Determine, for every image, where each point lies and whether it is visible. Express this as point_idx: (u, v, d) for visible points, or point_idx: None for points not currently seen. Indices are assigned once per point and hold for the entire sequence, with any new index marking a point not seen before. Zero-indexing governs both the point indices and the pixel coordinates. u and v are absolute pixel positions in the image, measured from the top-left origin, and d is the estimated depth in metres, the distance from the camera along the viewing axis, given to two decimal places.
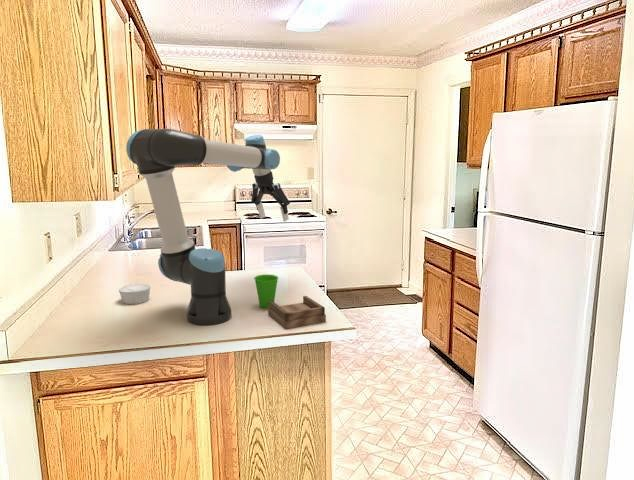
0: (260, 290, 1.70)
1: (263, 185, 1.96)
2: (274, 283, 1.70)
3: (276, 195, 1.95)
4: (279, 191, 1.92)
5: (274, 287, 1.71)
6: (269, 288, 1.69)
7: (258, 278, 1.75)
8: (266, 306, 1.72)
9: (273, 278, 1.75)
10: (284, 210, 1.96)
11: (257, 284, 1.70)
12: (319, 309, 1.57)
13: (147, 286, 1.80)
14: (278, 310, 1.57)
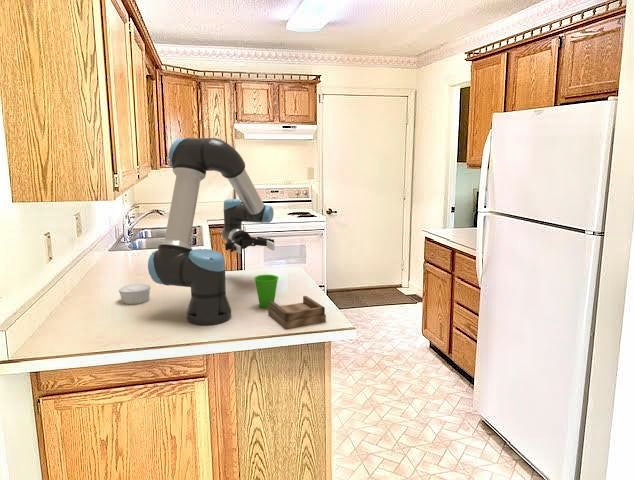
0: (260, 290, 1.70)
1: (243, 238, 1.93)
2: (274, 283, 1.70)
3: None
4: None
5: (274, 287, 1.71)
6: (269, 288, 1.69)
7: (258, 278, 1.75)
8: (266, 306, 1.72)
9: (273, 278, 1.75)
10: None
11: (257, 284, 1.70)
12: (319, 309, 1.57)
13: (147, 286, 1.80)
14: (278, 310, 1.57)
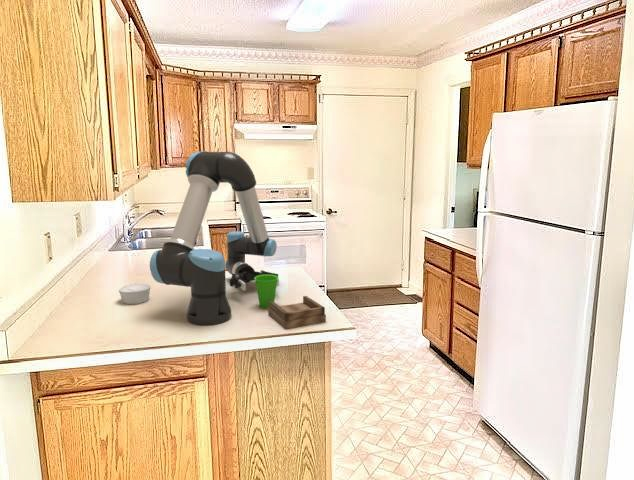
0: (260, 290, 1.70)
1: (247, 272, 1.93)
2: (274, 283, 1.70)
3: None
4: None
5: (274, 287, 1.71)
6: (269, 288, 1.69)
7: (258, 278, 1.75)
8: (266, 306, 1.72)
9: (273, 278, 1.75)
10: None
11: (257, 284, 1.70)
12: (319, 309, 1.57)
13: (147, 286, 1.80)
14: (278, 310, 1.57)
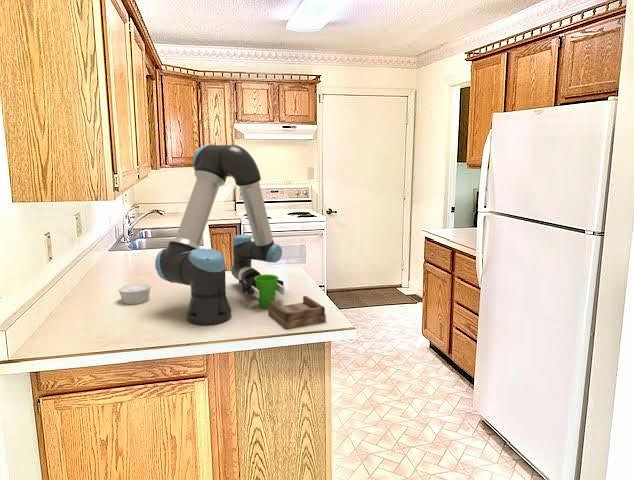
0: (260, 290, 1.70)
1: None
2: (274, 283, 1.70)
3: None
4: None
5: (274, 287, 1.71)
6: (269, 288, 1.69)
7: (258, 278, 1.75)
8: (266, 306, 1.72)
9: (273, 278, 1.75)
10: (280, 285, 1.76)
11: (257, 284, 1.70)
12: (319, 309, 1.57)
13: (147, 286, 1.80)
14: (278, 310, 1.57)
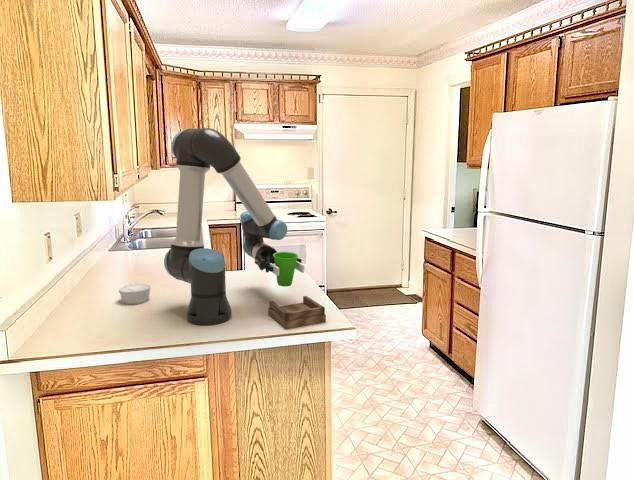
0: (279, 267, 1.64)
1: None
2: (294, 261, 1.64)
3: None
4: None
5: (294, 265, 1.65)
6: (288, 266, 1.63)
7: (276, 255, 1.68)
8: (285, 284, 1.66)
9: (292, 256, 1.69)
10: (299, 263, 1.70)
11: (276, 261, 1.64)
12: (319, 309, 1.57)
13: (147, 286, 1.80)
14: (278, 310, 1.57)
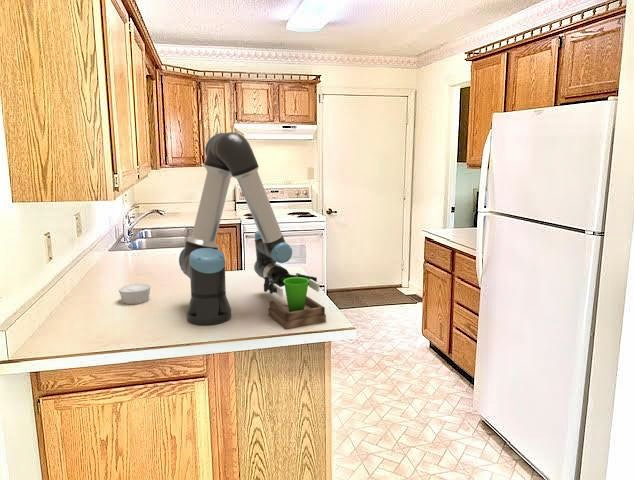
0: (290, 294, 1.57)
1: None
2: (305, 286, 1.57)
3: None
4: None
5: (305, 291, 1.58)
6: (299, 292, 1.57)
7: (287, 281, 1.62)
8: None
9: (303, 281, 1.63)
10: None
11: (287, 288, 1.57)
12: (319, 309, 1.57)
13: (147, 286, 1.80)
14: (278, 310, 1.57)
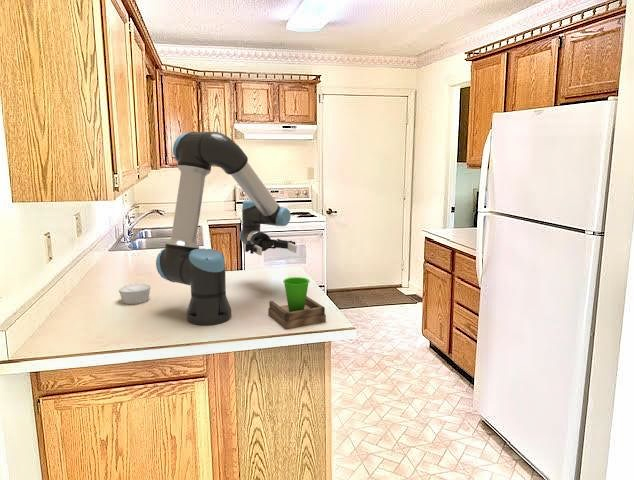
0: (290, 294, 1.57)
1: (262, 240, 1.84)
2: (305, 286, 1.57)
3: None
4: None
5: (305, 291, 1.58)
6: (299, 292, 1.57)
7: (287, 281, 1.62)
8: None
9: (303, 281, 1.63)
10: None
11: (287, 288, 1.57)
12: (319, 309, 1.57)
13: (147, 286, 1.80)
14: (278, 310, 1.57)
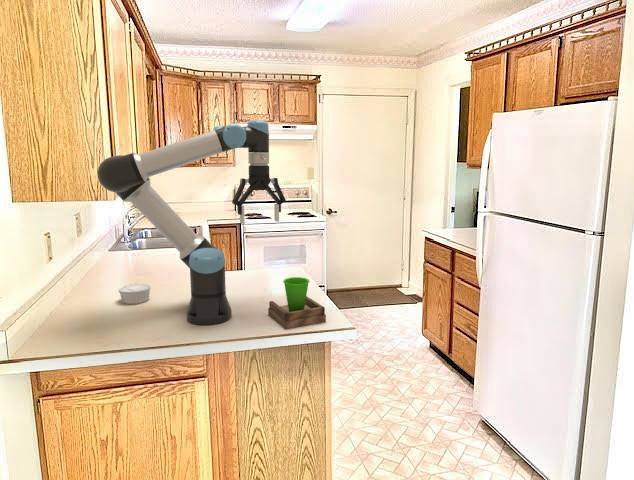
0: (290, 294, 1.57)
1: None
2: (305, 286, 1.57)
3: (246, 192, 1.70)
4: (239, 186, 1.69)
5: (305, 291, 1.58)
6: (299, 292, 1.57)
7: (287, 281, 1.62)
8: None
9: (303, 281, 1.63)
10: None
11: (287, 288, 1.57)
12: (319, 309, 1.57)
13: (147, 286, 1.80)
14: (278, 310, 1.57)
